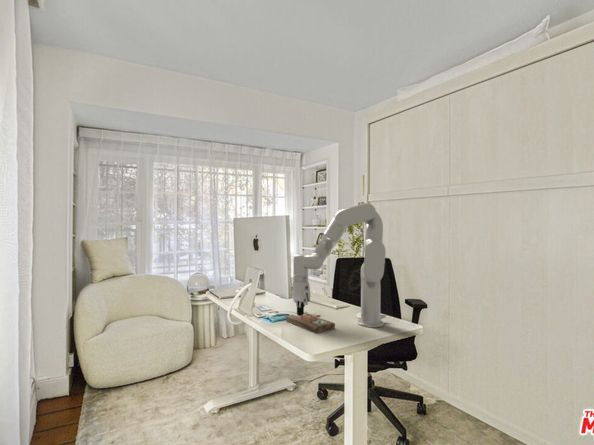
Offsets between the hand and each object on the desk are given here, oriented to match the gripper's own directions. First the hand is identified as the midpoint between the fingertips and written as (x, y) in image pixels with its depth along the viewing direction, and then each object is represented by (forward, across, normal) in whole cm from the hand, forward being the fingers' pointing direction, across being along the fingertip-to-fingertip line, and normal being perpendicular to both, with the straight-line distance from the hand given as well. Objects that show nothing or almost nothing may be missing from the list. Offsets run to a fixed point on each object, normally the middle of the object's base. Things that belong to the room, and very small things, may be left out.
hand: (300, 314), depth 168 cm
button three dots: (+3, -15, 0) cm, 15 cm away
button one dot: (+3, 0, 0) cm, 3 cm away
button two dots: (+2, -8, 0) cm, 8 cm away
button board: (+3, -8, 0) cm, 8 cm away
